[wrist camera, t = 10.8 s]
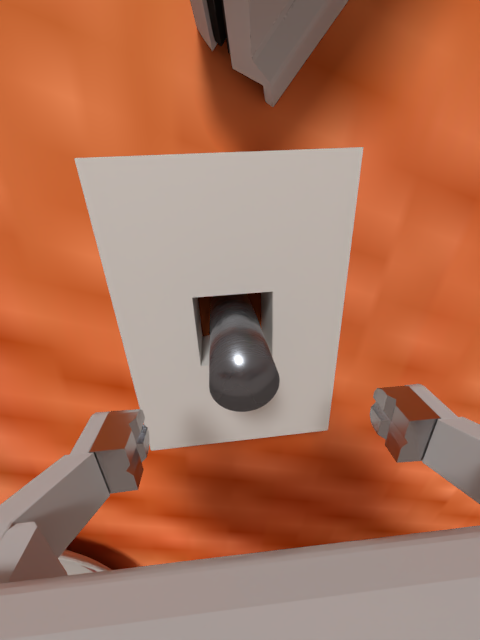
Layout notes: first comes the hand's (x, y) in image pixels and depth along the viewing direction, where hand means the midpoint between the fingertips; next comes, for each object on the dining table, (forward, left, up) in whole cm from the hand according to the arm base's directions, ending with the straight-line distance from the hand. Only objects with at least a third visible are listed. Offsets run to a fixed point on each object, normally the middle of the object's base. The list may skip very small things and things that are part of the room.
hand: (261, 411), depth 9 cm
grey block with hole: (0, 0, -11) cm, 11 cm away
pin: (0, 0, -11) cm, 11 cm away
